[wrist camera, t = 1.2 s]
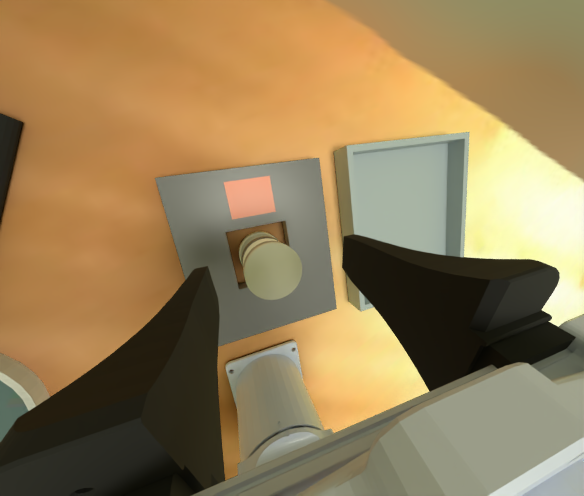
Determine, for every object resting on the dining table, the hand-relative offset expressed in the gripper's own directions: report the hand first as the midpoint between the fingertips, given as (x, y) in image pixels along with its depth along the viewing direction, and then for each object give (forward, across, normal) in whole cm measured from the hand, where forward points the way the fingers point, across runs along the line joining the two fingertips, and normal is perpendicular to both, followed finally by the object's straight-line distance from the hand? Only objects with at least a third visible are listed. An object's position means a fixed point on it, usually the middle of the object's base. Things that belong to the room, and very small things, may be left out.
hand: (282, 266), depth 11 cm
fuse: (+10, 0, +4) cm, 11 cm away
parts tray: (+11, -17, +4) cm, 20 cm away
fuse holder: (+10, 0, +4) cm, 11 cm away
